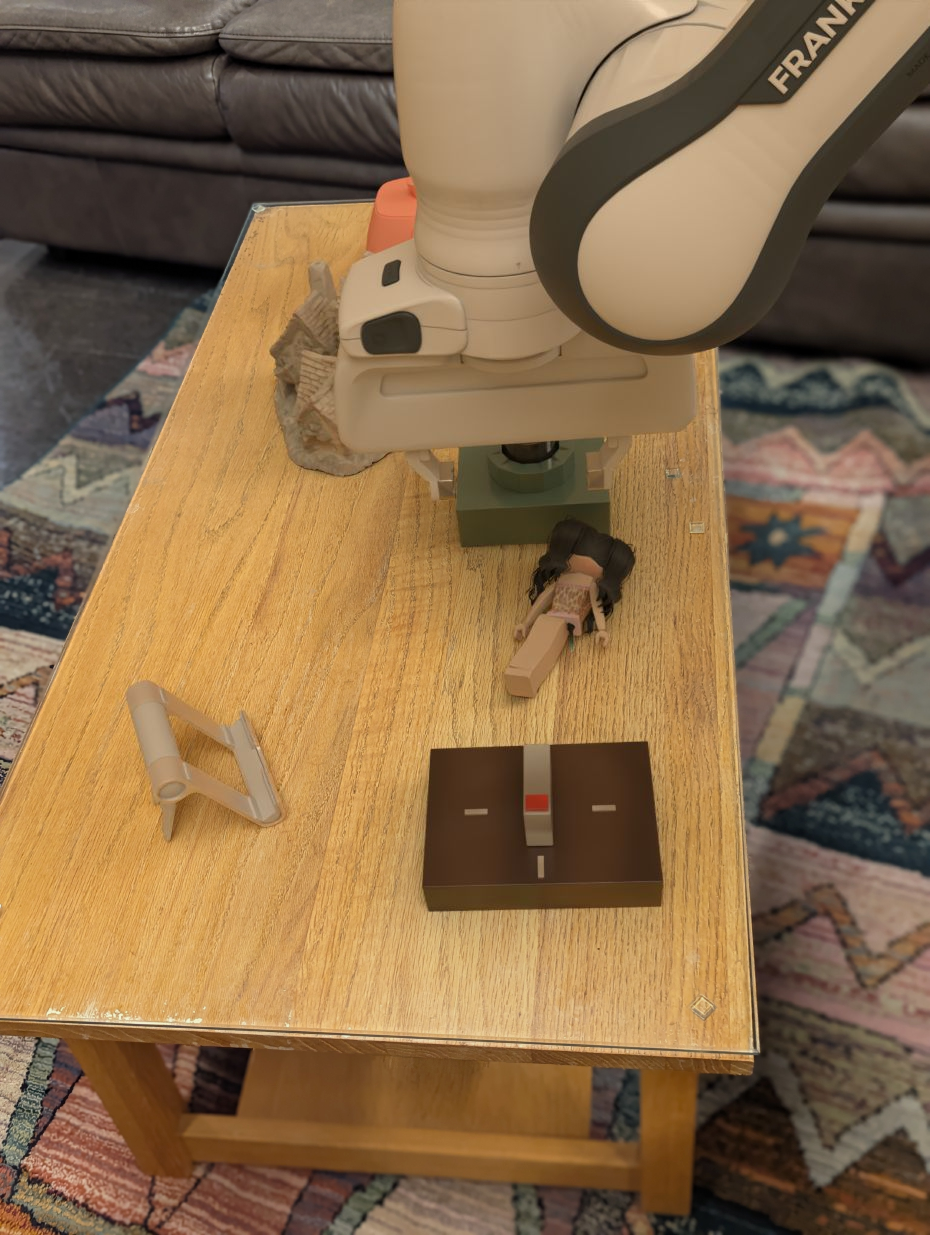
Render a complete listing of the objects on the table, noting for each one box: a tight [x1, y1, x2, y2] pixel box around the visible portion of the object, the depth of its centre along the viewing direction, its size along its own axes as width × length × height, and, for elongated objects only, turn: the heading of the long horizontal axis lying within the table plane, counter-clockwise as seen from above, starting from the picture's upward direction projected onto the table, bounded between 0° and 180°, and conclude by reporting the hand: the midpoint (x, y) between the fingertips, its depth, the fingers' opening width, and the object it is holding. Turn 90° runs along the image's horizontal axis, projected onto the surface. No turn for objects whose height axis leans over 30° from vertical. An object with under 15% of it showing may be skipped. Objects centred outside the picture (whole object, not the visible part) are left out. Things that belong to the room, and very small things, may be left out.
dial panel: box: [421, 740, 664, 912], centre depth 67 cm, size 14×10×3 cm
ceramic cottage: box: [269, 250, 390, 478], centre depth 96 cm, size 16×16×15 cm
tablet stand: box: [125, 679, 287, 842], centre depth 70 cm, size 9×8×8 cm
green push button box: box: [455, 437, 611, 548], centre depth 88 cm, size 12×10×6 cm
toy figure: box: [502, 515, 637, 699], centre depth 78 cm, size 7×6×15 cm
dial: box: [522, 743, 553, 846], centre depth 65 cm, size 5×2×4 cm, turn 178°
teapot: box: [365, 175, 417, 254], centre depth 111 cm, size 13×20×12 cm, turn 178°
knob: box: [505, 441, 556, 464], centre depth 85 cm, size 4×4×2 cm
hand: (521, 488), depth 66 cm, fingers open, 8 cm apart
